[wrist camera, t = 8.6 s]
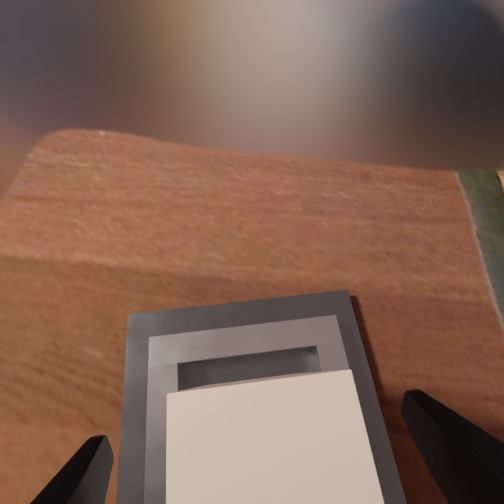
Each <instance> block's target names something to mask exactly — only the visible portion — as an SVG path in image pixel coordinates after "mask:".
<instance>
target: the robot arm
mask: <svg viewBox="0 0 504 504" xmlns="http://www.w3.org/2000/svg"><path fill="white" fill-rule="evenodd" d="M401 412H402V416H403V419H404V421H405V423H406V425H407V427H408V429H409V431H410V433H411V435H412V437H413V439H414V441H415V443H416V445H417V447H418V449H419V451H420V453H421V455H422V457H423V459H424V461H425V463H426V465H427V467H428V469H429V471H430V473H431V474H432V476H433V478H434V480H435V481H436V483H437V485H438V486H439V488H440V490H441V491H442V493H443V495H444V496H445V498H446V500H447V501H448V503H449V504H504V443H503V442H501V441H500V440H498V439H497V438H495V437H493V436H492V435H490V434H489V433H487V432H486V431H484V430H482V429H481V428H479V427H478V426H476V425H475V424H473V423H471V422H470V421H468V420H467V419H465V418H464V417H462V416H460V415H459V414H457V413H456V412H454V411H453V410H451V409H449V408H448V407H446V406H445V405H443V404H442V403H440V402H438V401H437V400H435V399H434V398H432V397H430V396H429V395H427V394H426V393H424V392H423V391H421V390H418V389H414V390H407V391H405V393H404V397H403V402H402V408H401ZM112 465H113V452H112V449H111V446H110V443H109V440H108V438H107V436H106V435H99V436H93V437H90V438H89V439H88V440H87V441H86V442H85V443H84V444H83V445H82V446H81V447H80V449H79V450H78V451H77V452H76V453H75V454H74V455H73V456H72V458H71V459H70V460H69V461H68V462H67V463H66V464H65V465H64V466H63V468H62V469H61V470H60V471H59V472H58V473H57V474H56V475H55V476H54V478H53V479H52V480H51V481H50V482H49V483H48V484H47V485H46V486H45V488H44V489H43V490H42V491H41V492H40V493H39V494H38V495H37V496H36V498H35V499H34V500H33V501H32V502H31V503H30V504H104V503H105V498H106V493H107V488H108V484H109V479H110V474H111V470H112Z"/></svg>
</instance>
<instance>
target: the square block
mask: <svg viewBox="0 0 504 504" xmlns="http://www.w3.org/2000/svg"><path fill="white" fill-rule="evenodd" d="M166 504H384V500H383V496H382V492H381V488H380V484H379V480H378V476H377V472H376V468H375V464H374V459H373V455H372V451H371V447H370V443H369V439H368V435H367V431H366V427H365V423H364V419H363V415H362V411H361V407H360V403H359V399H358V395H357V391H356V387H355V383H354V379H353V375H352V370H351V369H348V370H335V371H322V372H309V373H296V374H287V375H280V376H272V377H265V378H257V379H249V380H242V381H234V382H226V383H219V384H211V385H205V386H200V387H195V388H191V389H186V390H182V391H177V392H172V393H168V394H167V431H166Z"/></svg>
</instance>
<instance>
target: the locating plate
mask: <svg viewBox="0 0 504 504" xmlns="http://www.w3.org/2000/svg"><path fill="white" fill-rule="evenodd" d="M348 369H351V370H352V375H353V379H354V383H355V387H356V391H357V395H358V399H359V403H360V407H361V411H362V415H363V419H364V423H365V427H366V431H367V435H368V439H369V443H370V447H371V451H372V455H373V459H374V464H375V468H376V472H377V476H378V480H379V484H380V488H381V492H382V496H383V500H384V504H407V502H406V498H405V495H404V491H403V487H402V484H401V480H400V477H399V473H398V469H397V466H396V462H395V459H394V455H393V451H392V448H391V444H390V440H389V437H388V433H387V430H386V426H385V422H384V419H383V415H382V412H381V408H380V404H379V401H378V397H377V394H376V390H375V386H374V383H373V379H372V376H371V372H370V368H369V365H368V361H367V357H366V354H365V350H364V347H363V343H362V339H361V336H360V332H359V329H358V325H357V321H356V318H355V314H354V311H353V307H352V303H351V300H350V296H349V293H348V290H342V291H334V292H325V293H316V294H307V295H298V296H289V297H280V298H271V299H262V300H253V301H244V302H235V303H226V304H217V305H208V306H199V307H190V308H181V309H172V310H163V311H154V312H145V313H136V314H128V326H127V341H126V357H125V373H124V388H123V404H122V419H121V435H120V451H119V466H118V482H117V498H116V504H166V431H167V394H168V393H172V392H177V391H182V390H186V389H191V388H195V387H200V386H205V385H211V384H219V383H226V382H234V381H242V380H249V379H257V378H265V377H272V376H280V375H287V374H296V373H309V372H322V371H335V370H348Z"/></svg>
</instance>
